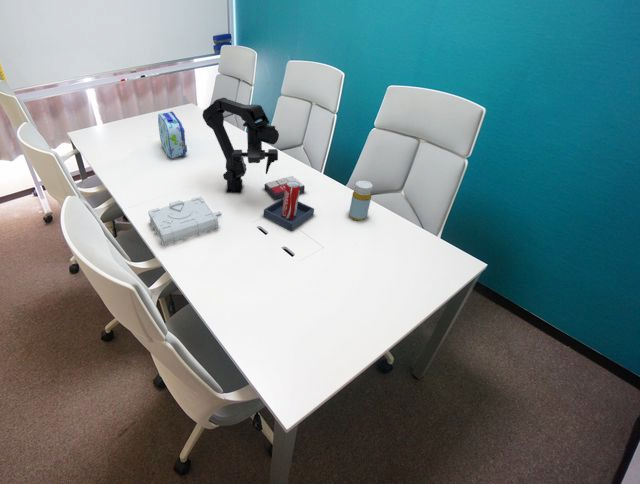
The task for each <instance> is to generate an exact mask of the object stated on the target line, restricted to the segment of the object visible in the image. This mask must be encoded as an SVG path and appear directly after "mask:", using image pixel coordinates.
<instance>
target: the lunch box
mask: <svg viewBox="0 0 640 484" xmlns="http://www.w3.org/2000/svg"><path fill="white" fill-rule="evenodd" d="M157 122H158V123H157V125H158V133H159V139H160V144H161V146H162V148H163V150H164V152H165V153H166V155H167V157H169V158H170V159H175V158H177V157H186V155H187V152H188V146H187V144H186V134H185V133H186V131H185V127H184V126H183V123H182V121H181V120H180V119H179V118H178V117H177V116H176V114H175V112H174V111H172V110H171V111H168V112H162V113H158V114H157Z"/></svg>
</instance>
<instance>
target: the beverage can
mask: <svg viewBox="0 0 640 484" xmlns="http://www.w3.org/2000/svg"><path fill="white" fill-rule="evenodd" d="M299 192H300V184H299V183H298V182H295V181H289V182H287V184H286V186H285V193H284V200H283V208H282V216H283V217H284V218H285V219H294V218H295V217H296V211H297V205H298V201H299V198H300V194H299Z"/></svg>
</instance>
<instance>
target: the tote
mask: <svg viewBox="0 0 640 484" xmlns="http://www.w3.org/2000/svg"><path fill="white" fill-rule="evenodd" d="M283 200H284V198H282V199H279V200H276V201H275V202H274V203H272V204H270V205H269V206H266V207H265V208H264V209H263V217H264V218H266V219H267V220H269V221H271V222H273V223H275V224H277V225H279V226H281V227H283V228H285V229H286V230H287V231H290V232H292V231H295V229H297V228H298V227H299V226H301V225H303V224H304V223H305V222H307V221H309V219H311V218H313V217H314V215H315V208H314V207H311V206H309V205H307V204H305V203H303V202H300V201H299V200H298V205H297V211H296V217H295V218H294V219H285V218H284V217H283V216H282V208H283Z"/></svg>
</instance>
